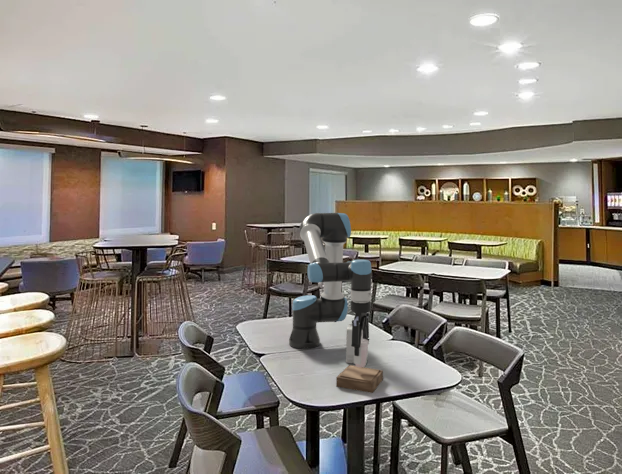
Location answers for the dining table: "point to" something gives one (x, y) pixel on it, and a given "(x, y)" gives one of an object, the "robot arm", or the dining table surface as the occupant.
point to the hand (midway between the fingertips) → (360, 360)
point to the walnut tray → (359, 378)
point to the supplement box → (348, 346)
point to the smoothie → (363, 351)
